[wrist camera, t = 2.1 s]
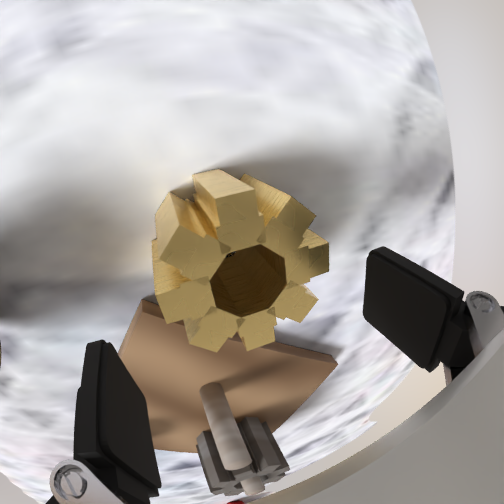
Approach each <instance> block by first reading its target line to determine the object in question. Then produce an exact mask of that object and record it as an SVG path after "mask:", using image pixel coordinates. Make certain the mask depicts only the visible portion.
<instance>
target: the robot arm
mask: <svg viewBox="0 0 504 504" xmlns="http://www.w3.org/2000/svg"><path fill="white" fill-rule="evenodd" d="M463 295H464V291H462V290H461V289H459V288H457V287H456V286H454V285H452V284H451V283H449V282H447V281H446V280H444V279H442V278H440V277H439V276H437V275H435V274H434V273H432V272H430V271H428V270H427V269H425V268H423V267H421V266H419V265H418V264H416V263H414V262H412V261H410V260H409V259H407V258H405V257H403V256H401V255H399V254H398V253H396V252H394V251H392V250H390V249H388V248H386V247H384V246H383V247H379V248H377V249H374V250H372V251H370V253H369V256H368V257H367V260H366V279H365V292H364V304H363V316H364V318H365V320H366V321H367V322H369V323H370V324H371V325H372V326H373V327H374V328H376V329H377V330H378V331H379V332H380V333H381V334H383V335H384V336H385V337H386V338H387V339H388V340H389V341H391V342H392V343H393V344H394V345H395V346H396V347H398V348H399V349H400V350H401V351H402V352H403V353H404V354H406V355H407V356H408V357H409V358H410V359H411V360H412V361H414V362H415V363H416V364H417V365H418V366H419V367H421V368H425V369H426V370H427V371H428V372H432V371H433V370H434V369H435V368H436V367H437V366H439V363H440V361H441V362H442V363H443V366H444V372H445V379H446V387H445V388H444V389H443V390H442V391H441V392H440V393H439V394H437V395H436V396H435V397H434V398H433V399H432V400H430V401H429V402H428V403H427V404H426V405H424V406H423V407H422V408H421V409H420V410H418V411H417V412H416V413H415V414H413V415H412V416H411V417H409V418H408V419H407V420H405V421H404V422H403V423H401V424H400V425H399V426H397V427H396V428H394V429H393V430H392V431H390V432H389V433H387V434H386V435H384V436H383V437H382V438H380V439H379V440H377V441H375V442H374V443H372V444H371V445H370V446H368V447H366V448H365V449H363V450H361V451H360V452H358V453H356V454H355V455H353V456H351V457H350V458H348V459H346V460H344V461H342V462H340V463H339V464H337V465H335V466H333V467H331V468H329V469H327V470H325V471H324V472H321V473H320V474H317V475H316V476H313V477H311V478H309V479H307V480H305V481H303V482H300V483H298V484H296V485H293V486H291V487H289V488H286V489H284V490H281V491H279V492H276V493H274V494H271V495H268V496H266V497H263V498H260V499H257V500H254V501H251V502H248V503H245V504H504V306H499V304H498V302H497V300H496V299H495V298H494V297H493V296H491V295H490V294H488V293H485V292H482V291H473V292H471V293H469V294H468V295H467V297H466V301H465V302H464V301H462V298H463ZM50 488H51V491H52V493H53V496H52V497H51V498H50V499H49V500H48V502H47V503H46V504H150V500H149V498H150V497H157V496H159V492H158V488H161V480H160V475H159V471H158V466H157V462H156V457H155V452H154V446H153V441H152V435H151V429H150V423H149V416H148V409H147V402H146V399H145V396H144V394H143V393H142V391H141V390H140V388H139V387H138V385H137V384H136V382H135V381H134V379H133V378H132V376H131V375H130V373H129V371H128V370H127V368H126V367H125V365H124V363H123V362H122V360H121V358H120V357H119V355H118V353H117V352H116V350H115V348H114V347H113V345H112V344H111V343H110V342H109V343H106V342H105V341H104V340H99V341H95V342H91V343H88V344H87V346H86V352H85V358H84V365H83V372H82V380H81V387H80V388H79V389H78V392H77V400H76V411H75V426H74V460H65V461H62V462H60V463H59V464H57V465H56V466H55V468H54V469H53V470H52V473H51V476H50Z"/></svg>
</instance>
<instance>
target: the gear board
mask: <svg viewBox="0 0 504 504" xmlns="http://www.w3.org/2000/svg"><path fill="white" fill-rule="evenodd" d="M118 355H119V357H120V358H121V360H122V362H123V363H124V365H125V367H126V368H127V370H128V371H129V373H130V375H131V376H132V378H133V379H134V381H135V382H136V384H137V385H138V387H139V388H140V390H141V391H142V393H143V394H144V396H145V399H146V402H147V409H148V416H149V423H150V429H151V435H152V441H153V446H154V449H158V450H167V451H176V452H188V453H198V455H199V458H200V461H201V464H202V468H203V471H204V474H205V477H206V480H207V483H208V486H209V489H210V492H211V493H213V494H215V495H218V494H222V493H224V494H225V496H231V495H238V494H240V493H241V492H244V491H245V494H246V495H254V494H258V493H260V492H262V491H264V490H265V486H264V485H265V484H266V483H269V482H276V481H278V480H280V479H281V478H283V477H284V476H286V475H285V473H284V472H286V471H289V470H290V468H289V465H288V463H287V462H286V460H285V458H284V456H283V454H282V452H281V450H280V448H279V446H278V444H277V442H276V441H275V439H274V437H273V435H272V433H273V432H274V431H275V430H276V429H278V428H279V427H280V426H281V425H282V424H283V423H284V422H285V421H286V420H287V419H288V418H289V417H290V416H291V415H292V414H293V413H294V412H295V411H296V410H297V409H298V408H299V407H300V406H301V405H302V404H303V403H304V402H305V401H306V400H307V399H308V398H309V396H310V395H311V394H312V393H313V392H314V391H315V390H316V389H317V388H318V387H319V386H320V385H321V383H322V382H323V381H324V380H325V379H326V378H327V377H328V376H329V374H330V373H331V372H332V371H333V370H334V369H335V368H336V366H337V365H338V363H337V362H336V361H335V360H334V358H333V357H332V356H331V355H328V354H323V353H319V352H315V351H310V350H306V349H302V348H298V347H294V346H290V345H286V344H282V343H278V342H275V341H274V342H272V343H269V344H266V345H263V346H261V347H258V348H255V349H252V350H249V351H247V350H246V348H245V346H244V344H243V342H242V340H241V338H240V336H239V334H238V332H236V333H235V334H234V336H233V337H232V338H230V337H228V339H227V340H226V341H225V343H224V344H223V345H222V347H221V348H220V349H219V350H218V352H214V351H210V350H207V349H204V348H201V347H198V346H195V345H191V344H189V341H188V337H187V333H186V329H185V325H184V321H183V320H179V321H176V322H173V323H169V324H167V323H166V321H165V318H164V316H163V313H162V311H161V308H160V306H159V305H157V304H154V303H151V302H149V301H146V300H143V299H142V300H141V302H140V304H139V306H138V309H137V311H136V313H135V315H134V317H133V320H132V322H131V324H130V326H129V329H128V331H127V333H126V335H125V338H124V340H123V342H122V345H121V347H120V349H119V352H118Z"/></svg>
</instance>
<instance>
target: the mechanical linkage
mask: <svg viewBox="0 0 504 504" xmlns="http://www.w3.org/2000/svg"><path fill="white" fill-rule="evenodd" d="M227 504H245V503H244V502H242V501H235V502H228V503H227Z"/></svg>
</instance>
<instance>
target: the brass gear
mask: <svg viewBox="0 0 504 504" xmlns="http://www.w3.org/2000/svg"><path fill="white" fill-rule="evenodd" d="M192 177H193V182H194V187H195V192H196V193H193V198H194V202H195V203H194V202H192V201H191V200H189V199H187V198H186V200H185V201H184V200H183V199H181V198H179V197H177V196H176V195H174V194H172V193H171V192H168V194H167V196H166V197H165V199H164V201H163V202H162V204H161V206H160V207H159V209H158V211H157V212H156V214H155V222H156V235H157V239H156V240H153V241H152V257H153V273H154V286H155V296H156V298H157V301H158V303H159V306H160V308H161V311H162V313H163V316H164V318H165V321H166V323H167V324H169V323H173V322H176V321H179V320H183V321H184V325H185V329H186V333H187V337H188V341H189V344H191V345H195V346H198V347H201V348H204V349H207V350H210V351H214V352H218V350H219V349H220V348H221V347H222V345H223V344H224V343H225V341H226V340H227V339H228V337H230V338H232V337H233V336H234V334H235V333H236V332H238V334H239V336H240V338H241V340H242V342H243V344H244V346H245V348H246V350H247V351H249V350H252V349H255V348H258V347H261V346H263V345H266V344H269V343H272V342H274V341H275V334H274V326H275V325H277V322H276V317H278V318H281V319H283V320H284V319H285V318H286V317H287V318H289V319H292V320H294V321H297V322H299V323H301V321H302V320H303V319H304V318H305V316H306V315H307V314H308V313H309V311H310V310H311V309H312V307H313V306H314V305H315V304H316V302H317V301H318V300H319V299H318V298H317V297H316V296H315V295H314V294H313V293H312V292H311V291H310V290H309V289H308V288H307V287H306V286H305V285H304V283H307V282H310V278H312V277H315V276H318V275H320V274H323V273H326V272H329V242H327V241H326V240H324V239H323V238H321V237H320V236H318V235H317V234H315V233H314V232H312V231H311V230H309V229H308V227H309V226H310V224H311V223H312V221H313V220H314V218H315V217H316V215H315V214H313V213H312V212H311V211H310V210H308V209H307V208H306V207H305V206H303V205H302V204H301V203H299V202H298V201H297V200H296V199H294V198H293V197H292V196H290V195H288V194H286V193H284V192H282V191H280V190H278V189H276V188H274V187H272V186H270V185H268V184H265V183H263V182H261V181H259V180H257V179H255V178H253V177H251V176H249V175H246V174H244V175H243V176H242V178H241V179H240V180H238V179H236V178H235V177H233V176H231V175H229V174H227V173H226V172H224V171H222V170H220V169H215V170H211V171H206V172H202V173H198V174H194V175H192ZM234 251H236V252H235V254H234V255H233V256H230V257H227V258H225V257H226V255H227V254H228V253H231V252H234Z"/></svg>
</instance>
